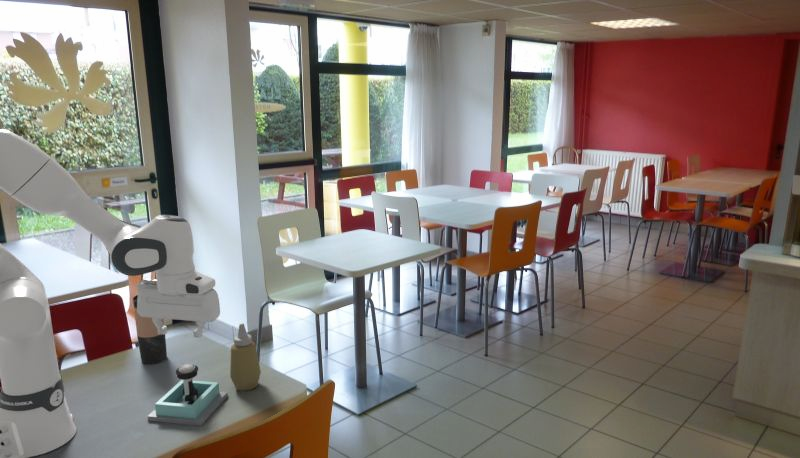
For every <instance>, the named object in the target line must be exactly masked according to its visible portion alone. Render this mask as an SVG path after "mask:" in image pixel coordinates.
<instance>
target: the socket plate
mask: <svg viewBox="0 0 800 458" xmlns="http://www.w3.org/2000/svg"><path fill="white" fill-rule="evenodd" d="M193 384H194V387H195V388H197V391H198V398H197V400H196V401H194V402H193V404H192V405H191V404H183V396H184V395H183V388H184V381H183V380H182V379H180V380H179V382H177V383H176V384H175V385H174V386H172V388H171V389H170V390H169V391H168V392H167V393H165V394H164V395H163V396H161V398H160V399H158V401H156V402H155V403H154V407H155V409H153V411H152V412H150V414H148V415H147V421H148V422H160V423H168V424H169V423H170V424H179V425H181V424H182V425H192V426H202V425H204V423H205V422H206V421H207V420H209V418H210V416H211V415H212V414H213V413H214V412H215V411H216V410H217V409H218V408H219V406H220V405H221V404H222V403H223V402H224V401H225V400H226V399H227V397H228V395H229V394H228V391H220V384H219V382H216V381H203V380H193Z"/></svg>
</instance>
